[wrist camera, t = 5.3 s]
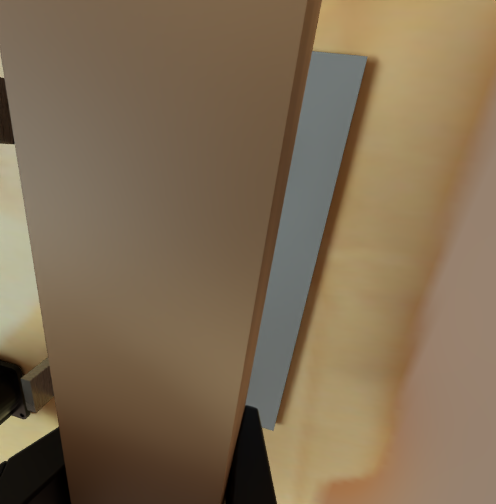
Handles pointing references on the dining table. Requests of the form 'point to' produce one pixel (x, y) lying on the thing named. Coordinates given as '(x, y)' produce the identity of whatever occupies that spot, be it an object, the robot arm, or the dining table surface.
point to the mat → (303, 220)
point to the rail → (153, 221)
